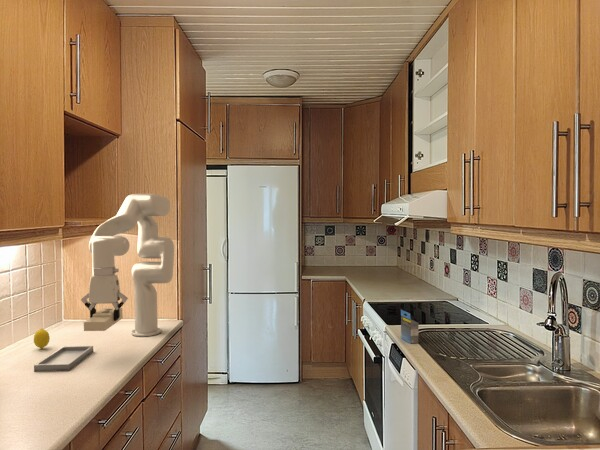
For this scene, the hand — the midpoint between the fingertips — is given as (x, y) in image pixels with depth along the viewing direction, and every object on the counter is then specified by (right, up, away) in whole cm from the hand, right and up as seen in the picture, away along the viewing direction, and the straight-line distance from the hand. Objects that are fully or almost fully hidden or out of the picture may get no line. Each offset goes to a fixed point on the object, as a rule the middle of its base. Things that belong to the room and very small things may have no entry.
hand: (105, 319), depth 182 cm
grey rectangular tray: (-14, -15, -1) cm, 20 cm away
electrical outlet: (0, -2, -1) cm, 2 cm away
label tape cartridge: (+116, -13, +23) cm, 119 cm away
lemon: (-31, -14, +15) cm, 37 cm away
